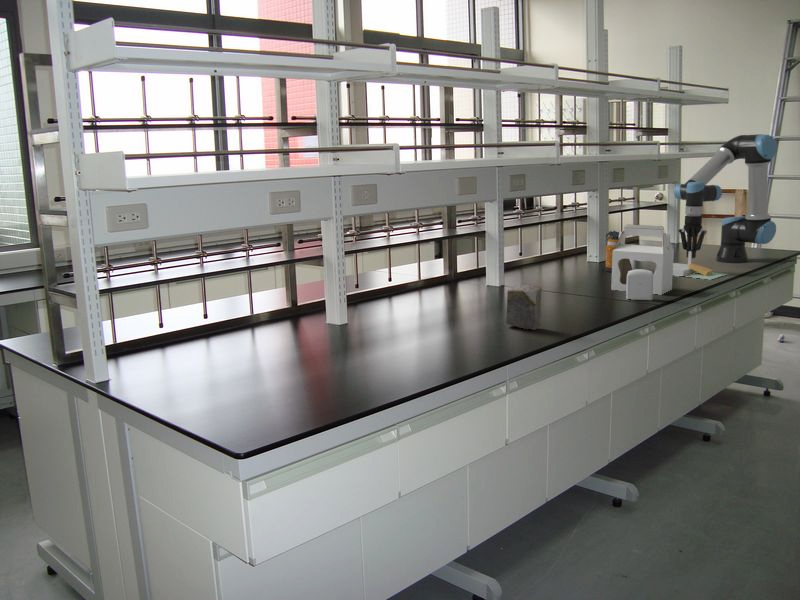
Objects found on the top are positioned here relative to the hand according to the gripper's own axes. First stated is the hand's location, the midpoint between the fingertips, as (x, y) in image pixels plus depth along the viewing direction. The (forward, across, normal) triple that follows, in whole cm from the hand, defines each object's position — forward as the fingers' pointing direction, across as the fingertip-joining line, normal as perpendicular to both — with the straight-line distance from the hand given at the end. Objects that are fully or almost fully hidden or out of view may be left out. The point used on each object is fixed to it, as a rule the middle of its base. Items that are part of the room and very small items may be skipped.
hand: (690, 264), depth 349 cm
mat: (+4, +8, -1) cm, 10 cm away
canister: (+5, -31, -16) cm, 36 cm away
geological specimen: (+5, +6, -136) cm, 136 cm away
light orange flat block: (+3, +5, 0) cm, 5 cm away
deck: (+4, -6, -1) cm, 7 cm away
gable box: (+5, +3, -50) cm, 50 cm away
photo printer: (+5, +12, -68) cm, 69 cm away
